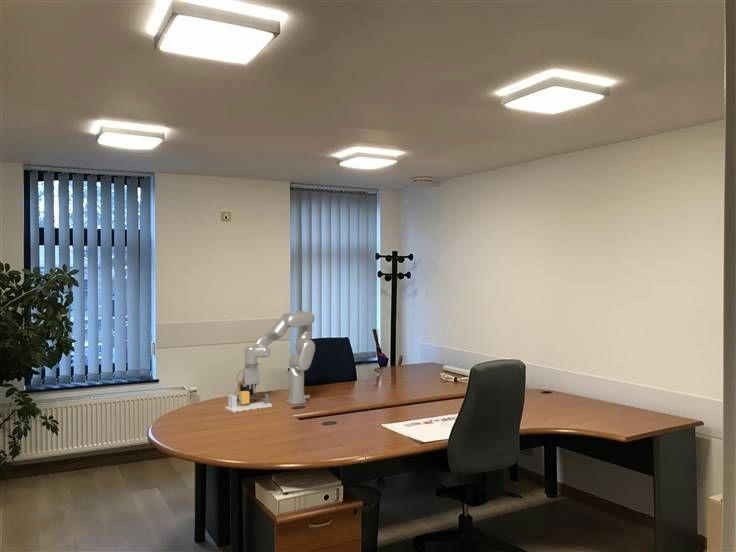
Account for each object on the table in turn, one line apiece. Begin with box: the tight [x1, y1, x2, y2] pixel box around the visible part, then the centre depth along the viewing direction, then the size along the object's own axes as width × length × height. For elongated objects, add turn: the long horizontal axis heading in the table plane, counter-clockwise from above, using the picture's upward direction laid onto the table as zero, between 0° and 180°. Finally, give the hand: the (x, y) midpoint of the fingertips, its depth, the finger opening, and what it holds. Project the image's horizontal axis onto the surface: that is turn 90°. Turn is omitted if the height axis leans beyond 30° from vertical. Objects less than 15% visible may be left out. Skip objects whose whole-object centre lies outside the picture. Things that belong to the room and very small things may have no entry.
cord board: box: [225, 393, 273, 413], centre depth 364 cm, size 27×10×9 cm, turn 130°
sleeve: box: [238, 391, 251, 405], centre depth 362 cm, size 5×4×7 cm
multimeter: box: [234, 370, 257, 402], centre depth 386 cm, size 15×10×20 cm
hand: (250, 395), depth 365 cm, fingers closed
